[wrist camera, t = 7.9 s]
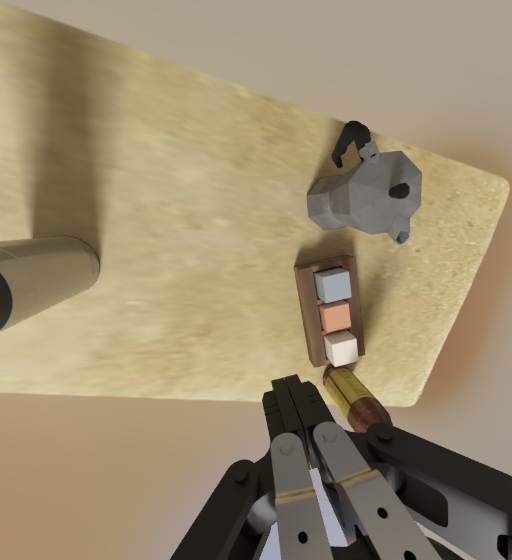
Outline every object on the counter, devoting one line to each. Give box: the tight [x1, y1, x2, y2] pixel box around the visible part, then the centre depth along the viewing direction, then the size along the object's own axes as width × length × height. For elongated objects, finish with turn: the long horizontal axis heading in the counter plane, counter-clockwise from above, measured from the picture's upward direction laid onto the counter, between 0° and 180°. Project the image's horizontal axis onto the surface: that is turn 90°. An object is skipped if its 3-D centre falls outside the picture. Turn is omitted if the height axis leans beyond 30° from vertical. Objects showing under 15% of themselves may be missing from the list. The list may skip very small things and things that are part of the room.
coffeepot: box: [307, 121, 422, 245], centre depth 34 cm, size 15×9×18 cm, turn 30°
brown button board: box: [294, 255, 365, 368], centre depth 46 cm, size 10×19×3 cm, turn 11°
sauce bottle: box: [323, 366, 393, 433], centre depth 41 cm, size 6×6×20 cm
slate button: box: [314, 267, 352, 303], centre depth 42 cm, size 4×4×4 cm
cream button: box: [323, 330, 359, 367], centre depth 45 cm, size 4×4×4 cm
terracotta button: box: [318, 300, 351, 333], centre depth 45 cm, size 4×4×4 cm
